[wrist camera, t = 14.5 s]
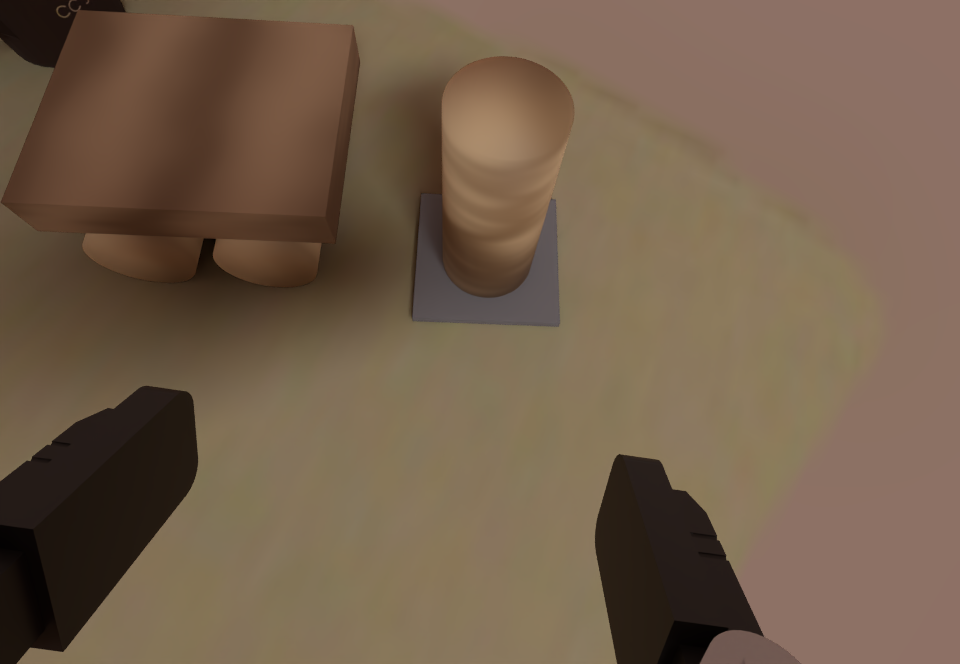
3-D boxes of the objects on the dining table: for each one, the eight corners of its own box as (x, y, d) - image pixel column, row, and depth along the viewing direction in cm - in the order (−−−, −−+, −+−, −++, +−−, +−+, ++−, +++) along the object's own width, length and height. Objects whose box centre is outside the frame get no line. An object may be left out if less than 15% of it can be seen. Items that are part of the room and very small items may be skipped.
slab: (101, 280, 27) (0, 202, 21) (151, 115, 30) (78, 10, 25) (353, 290, 27) (325, 216, 21) (372, 126, 31) (353, 25, 25)
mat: (412, 321, 27) (412, 317, 26) (421, 197, 29) (421, 193, 29) (558, 326, 27) (559, 323, 27) (554, 203, 30) (555, 199, 29)
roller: (441, 296, 27) (439, 156, 17) (443, 218, 28) (443, 53, 19) (532, 299, 27) (578, 162, 18) (529, 221, 29) (570, 59, 19)
